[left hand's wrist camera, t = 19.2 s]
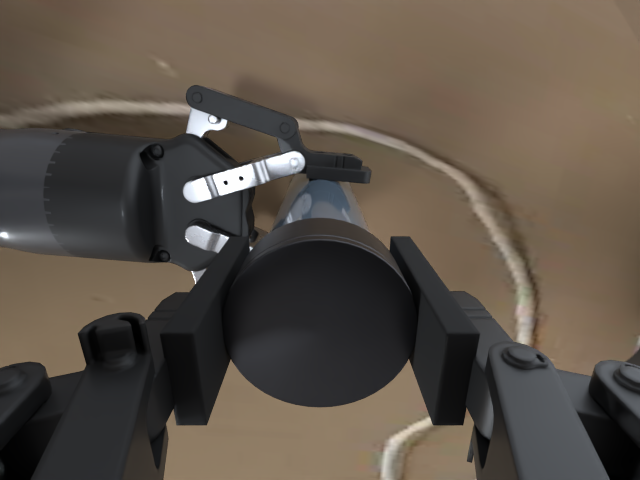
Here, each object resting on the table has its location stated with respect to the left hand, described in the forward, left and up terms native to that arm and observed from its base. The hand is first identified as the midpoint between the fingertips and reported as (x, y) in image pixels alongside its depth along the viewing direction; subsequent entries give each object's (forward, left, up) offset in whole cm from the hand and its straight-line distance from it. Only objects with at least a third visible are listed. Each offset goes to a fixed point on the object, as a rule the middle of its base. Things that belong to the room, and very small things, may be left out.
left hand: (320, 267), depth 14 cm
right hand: (-3, 0, -8) cm, 8 cm away
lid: (0, 0, +4) cm, 4 cm away
